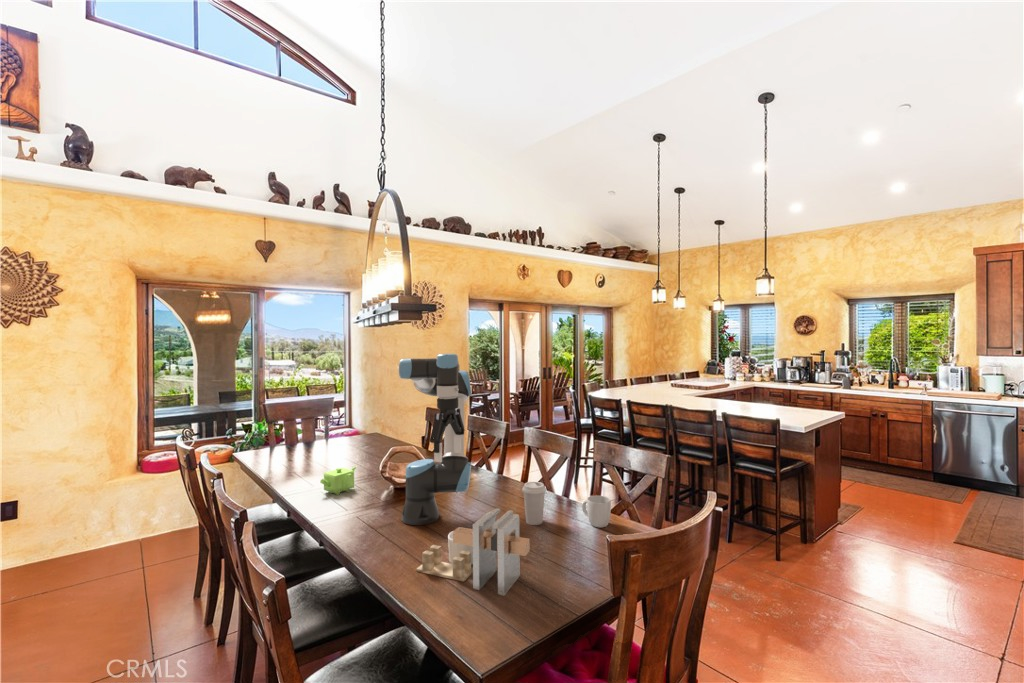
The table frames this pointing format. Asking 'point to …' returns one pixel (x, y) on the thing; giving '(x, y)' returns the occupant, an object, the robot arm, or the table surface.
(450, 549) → the mug
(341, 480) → the green boxy piggy bank
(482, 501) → the table surface
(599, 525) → the mug
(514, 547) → the block
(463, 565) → the rack
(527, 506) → the coffee cup
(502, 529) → the twin slotted uprights
